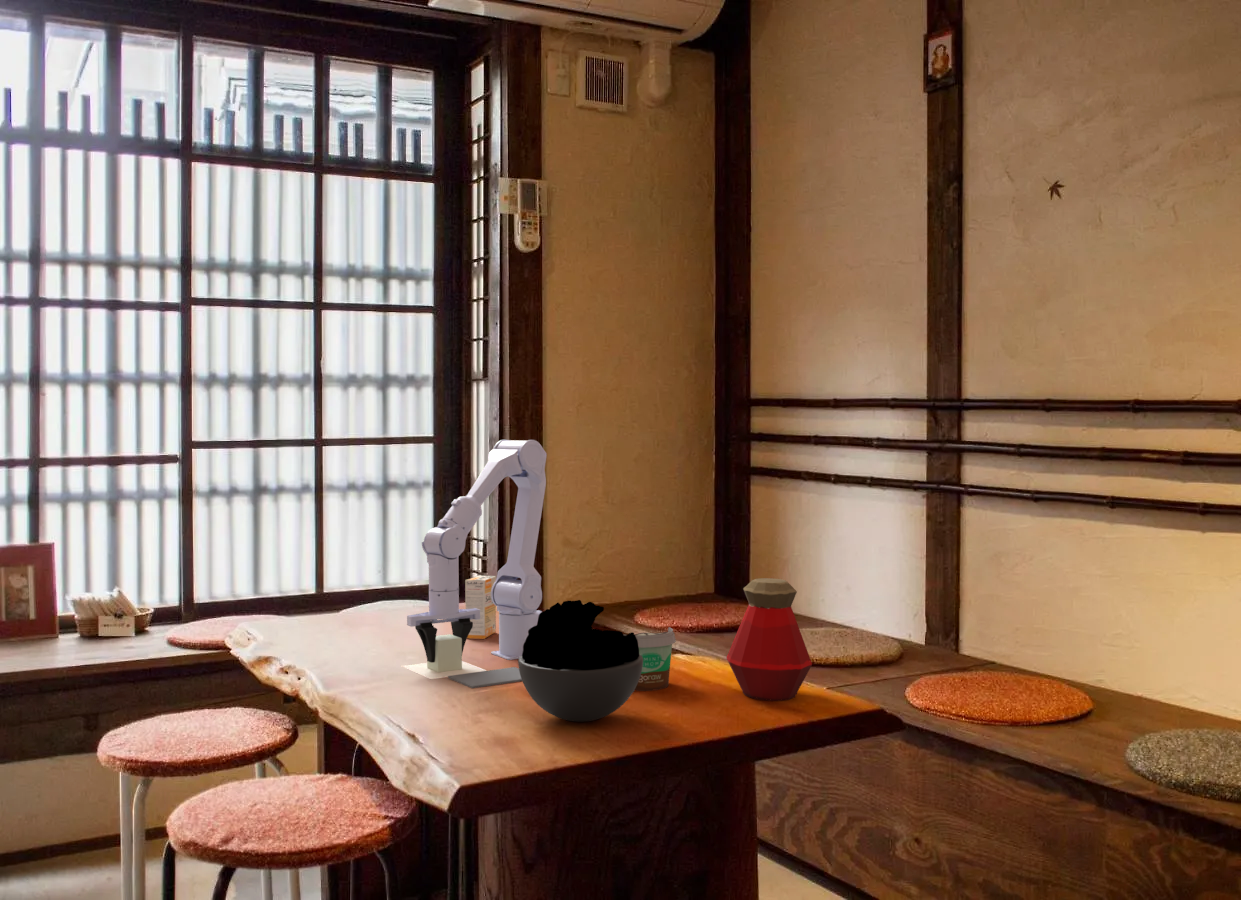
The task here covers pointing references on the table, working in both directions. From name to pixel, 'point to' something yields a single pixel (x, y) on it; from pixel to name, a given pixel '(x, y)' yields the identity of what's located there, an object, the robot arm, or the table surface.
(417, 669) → the card
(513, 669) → the slate mat
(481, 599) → the supplement box
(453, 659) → the sage block
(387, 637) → the table surface
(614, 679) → the bowl of black rocks
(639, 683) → the food container
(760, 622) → the bottle
